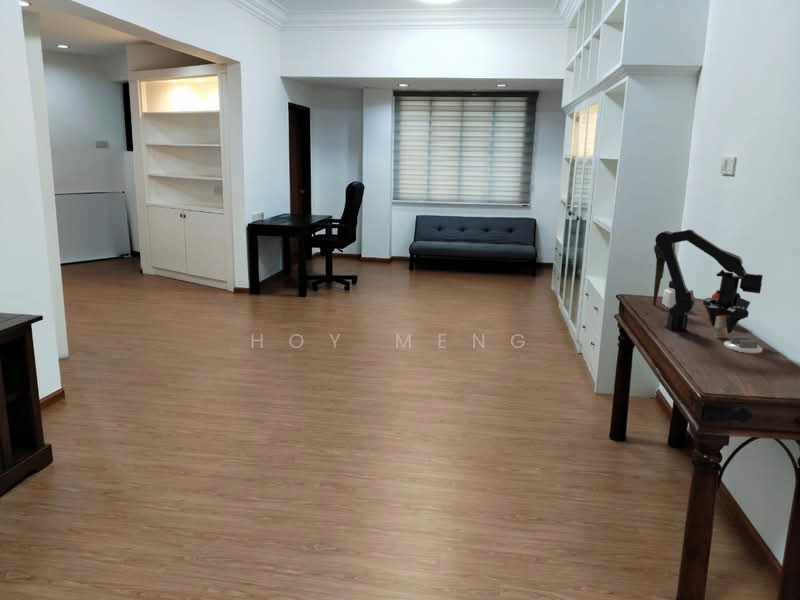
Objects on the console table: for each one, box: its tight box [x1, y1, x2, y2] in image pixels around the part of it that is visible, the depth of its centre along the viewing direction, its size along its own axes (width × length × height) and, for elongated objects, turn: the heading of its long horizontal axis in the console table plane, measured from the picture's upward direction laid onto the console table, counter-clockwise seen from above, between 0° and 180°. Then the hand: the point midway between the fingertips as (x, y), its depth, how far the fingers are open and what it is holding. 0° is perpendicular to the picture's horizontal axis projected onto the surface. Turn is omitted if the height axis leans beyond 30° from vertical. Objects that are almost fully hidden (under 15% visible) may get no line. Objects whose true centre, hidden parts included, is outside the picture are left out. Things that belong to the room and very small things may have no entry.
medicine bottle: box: [661, 279, 676, 309], centre depth 272 cm, size 7×7×12 cm
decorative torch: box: [652, 243, 666, 306], centre depth 270 cm, size 7×7×30 cm
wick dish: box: [723, 335, 763, 354], centre depth 215 cm, size 12×12×4 cm
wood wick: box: [712, 316, 729, 339], centre depth 227 cm, size 4×2×8 cm, turn 97°
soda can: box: [707, 291, 727, 322], centre depth 249 cm, size 8×8×12 cm
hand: (721, 329), depth 227 cm, fingers open, 9 cm apart
